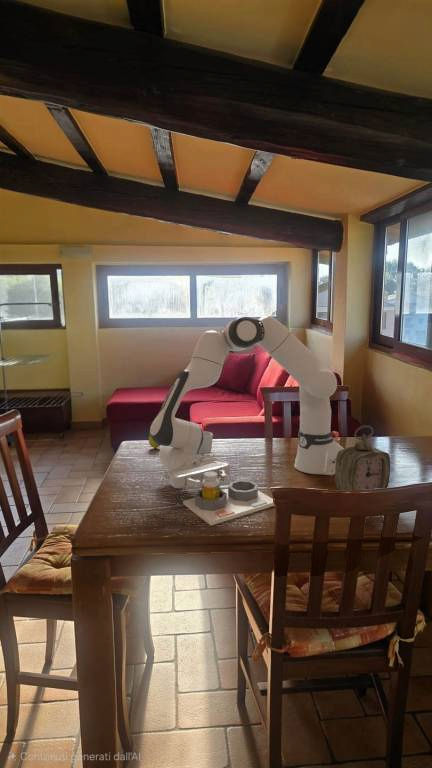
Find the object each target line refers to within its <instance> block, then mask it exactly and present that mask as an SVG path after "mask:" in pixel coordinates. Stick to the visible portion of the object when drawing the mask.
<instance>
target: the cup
mask: <svg viewBox="0 0 432 768" xmlns="http://www.w3.org/2000/svg"><path fill="white" fill-rule="evenodd" d="M202 431H203V443H202V446H201V448H200V450H199V452H198V453H197V454H211V452H212V447H213V445H212V444H213V437H214V434H213V432H210V431H205V430H202Z"/></svg>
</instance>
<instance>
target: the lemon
mask: <svg viewBox="0 0 432 768" xmlns="http://www.w3.org/2000/svg"><path fill="white" fill-rule="evenodd" d="M148 436H149V437H148V444H149V446H150V447H152V448H154V449H155V450H156V449H158V448H160V446H161V445H157V444H155V442H154V441H153V440H152V438H151V435H150V431H149V432H148Z"/></svg>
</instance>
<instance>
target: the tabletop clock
mask: <svg viewBox="0 0 432 768" xmlns="http://www.w3.org/2000/svg"><path fill="white" fill-rule="evenodd" d="M362 429H370V431H371V433H370V435H368V436H366V434H362V436H361V437H359V436H357V433H358V431H360V430H362ZM373 435H374V429H373V427H372V426H370V425H362V426H360V427H358V428H357V429H356V430H355V432H354V437H355V438H356V439H357V441H356V442H355V444H354V445H353V446H350V447H345V448H344V449H342V450H340V451H339V452H338V454H337V458H336V466H335V474H334V475H335V476H334V480H335V484H336V488H337V490H338V491H339V490H362V489H374V488H387V487H389V483H390V476H391V457H390V453H389V452H386V451H383V450H381V449H379V448H376V447H374V446H372V443H371V442H370V441H369V440H368V439H370V438H371V437H372V436H373ZM387 489H388V488H387Z"/></svg>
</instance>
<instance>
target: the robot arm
mask: <svg viewBox="0 0 432 768" xmlns="http://www.w3.org/2000/svg"><path fill="white" fill-rule="evenodd" d="M254 345H256V346H259V347H261V348H262V349H263V350H264V351H265V352H266V353H267V355H269V356H270V357H271V358H272V359H273V360H274V361H275V362H276V363H277V364H278V365H279V366H280V367H281V368H282V369H284V371H285V372H286V373H288V375H290V377H291V378H292V379H294V380H295V382H297V383H298V393H299V406H300V408H299V411H300V412H299V414H300V415H299V416H300V417H299V429H298V435H297V436H298V437H297V439H298V444H297V452H296V456H295V459H294V461H295V462H294V464H293V467H294V468H295V469H296V470H297V471H299V472H302V473H306V474H312V475H325V476H334V475H335V466H336V458H337V454H338V452H339V451H340V450H342V449H345V448H344V447H343V446H341V445H340V444H338V443H337V442H336V441H335V440H334V437H335V438H338V437H339V432H338V431H335V430H333V431H331V423H332V421H331V420H332V408H331V402H330V401H331V400H330V397H331V396H333V394H335V392H336V390H337V388H338V379H337V377H336V375H335V373H334V372H333V371H332V370H331V368H329V366H327V365H326V364H325V363H324V362H323V361H322V360H321V359H320V358H319V357H317V355H316V354H315V353H314V352H312V351H311V350H310V349H309V348H308V347H307V346H306V345H305V344H304V343H303V342H302V341H301V340H300V339H299V338H298V337H296V335H295V334H293V332H292V331H291V330H289V329H288V327H286V326H285V325H284V324H282V323H281V322H280V321H278V319H276V318H275V317H273V316H271V315H264V316H261V317H259V318H258V319H256V318H251V317H249V316H238V317H236V318H234V319H232V320H231V321H229V322H228V323H227V324H226V325H225V326H224V327H223V328H222V329H221V330H220V331H216V330H206V331H204V332H203V333H201V334H200V336H199V339H198V341H197V344H196V345H195V347H194V350H193V352H192V356H191V359H190V362H189V364H188V365H187V367H186V368H185V369H182V370H180V371H179V372H178V374H177V375H176V377H175V378H174V380H173V382H172V383H171V386H170V388H169V389H168V392H167V394H166V396H165V398H164V400H163V403H162V405H161V407H160V409H159V411H158V413H157V414H156V415H155V417H154V419H153V420H152V422H151V424H150V428H149V432H150V434H149V436H150V435H151V438H152V440H153V441H154V442H155V444H157V445H160V446H162V447H161V448H160V449H159V453H158V455H159V459H160V462H161V464H162V465H163V467H165V468H166V469H167V470H168V471H165V473H163V475H162V477H163V478H164V479H167V481H168V483H169V484H170V485H171V486H172V487H173V488H175V489H180V488H181V489H182V488H184V487H194V488H196V489H197V488H202V481H203V480H204V473H206V472H216V473H217V479H220V481H222V482H225V481H228V480H229V479H228V478H229V476H230V474H231V466H230V463H228V462H227V461H225V460H223V459H222V458H219V457H215V455H214V454H213V453H208V454H198V452H199V450H200V448H201V446H202V443H203V431H204V430H203V429H202V427H201V426H200V425H199V424H198V423H196V422H192V421H189V420H184V419H181V418H177V417H176V416H175V415H176V414H177V411H178V409H179V407H180V405H181V402H182V401H183V399H184V396H185V395H186V394H187V392H189V391H191V390H196V389H203V388H208V387H211V386H213V385H215V384H216V383H217V382H218V380H219V379H220V377H221V374H222V370H223V368H224V367H223V366H224V364H225V358H226V357H227V355H228V353H240V352H243V351H246V350H248V349H250V348H251V347H253V346H254Z"/></svg>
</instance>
